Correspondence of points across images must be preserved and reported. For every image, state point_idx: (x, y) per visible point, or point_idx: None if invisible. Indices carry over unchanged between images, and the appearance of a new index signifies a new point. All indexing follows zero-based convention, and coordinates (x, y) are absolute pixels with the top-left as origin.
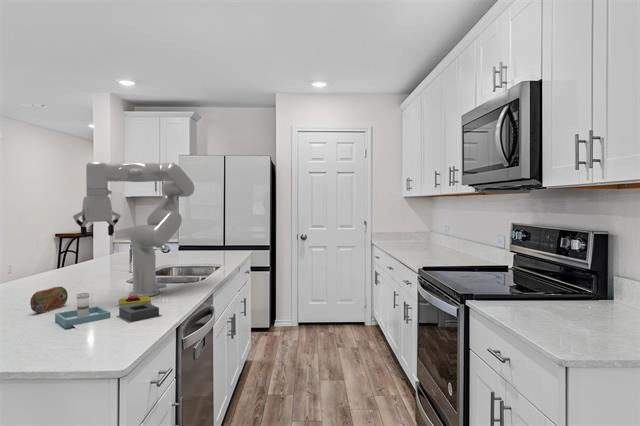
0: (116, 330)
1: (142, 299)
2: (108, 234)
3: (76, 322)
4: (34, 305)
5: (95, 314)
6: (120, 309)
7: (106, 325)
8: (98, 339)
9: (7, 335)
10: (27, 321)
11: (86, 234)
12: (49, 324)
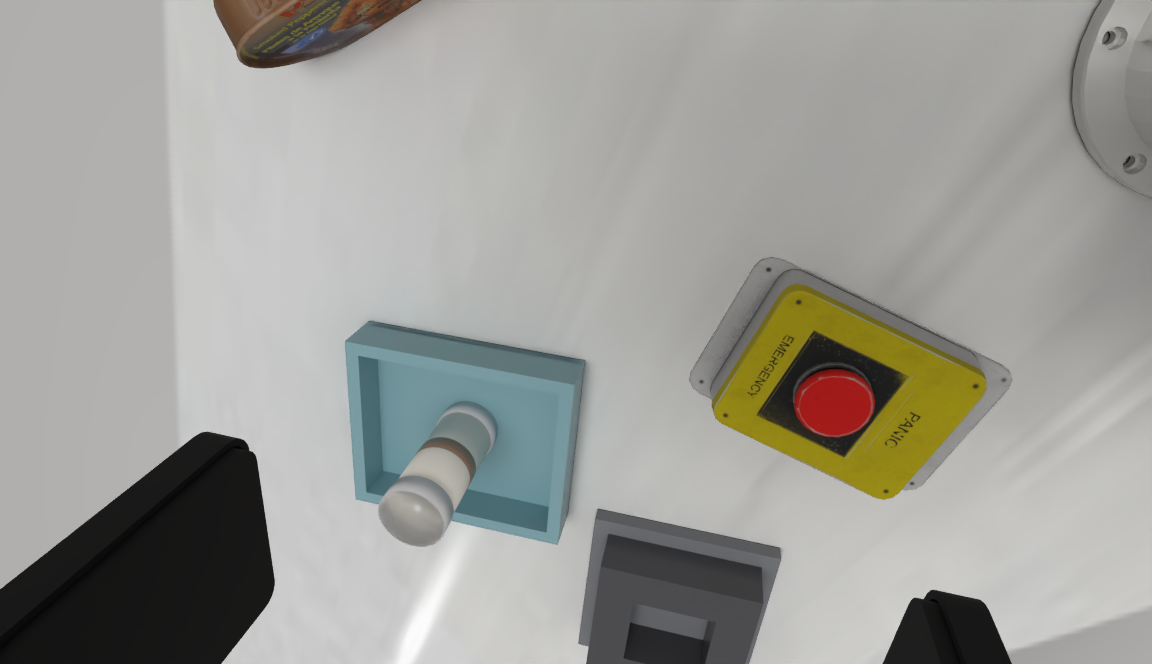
0: (518, 635)
1: (879, 438)
2: (915, 619)
3: None
4: (266, 58)
5: (487, 523)
6: (599, 576)
7: (520, 557)
8: (431, 658)
9: (182, 358)
10: (262, 184)
11: (234, 638)
12: (340, 339)
